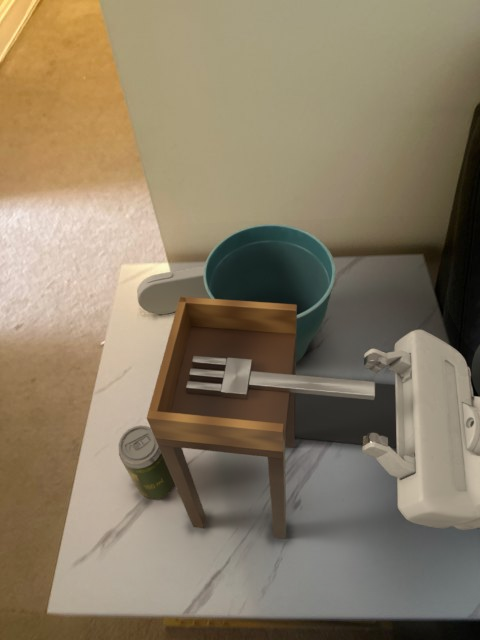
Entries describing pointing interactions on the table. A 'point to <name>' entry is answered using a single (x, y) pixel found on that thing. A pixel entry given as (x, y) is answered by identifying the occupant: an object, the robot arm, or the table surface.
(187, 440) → the stand
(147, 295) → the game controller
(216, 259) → the flower pot
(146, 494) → the beer can
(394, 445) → the mat
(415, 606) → the table surface
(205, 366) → the fork
